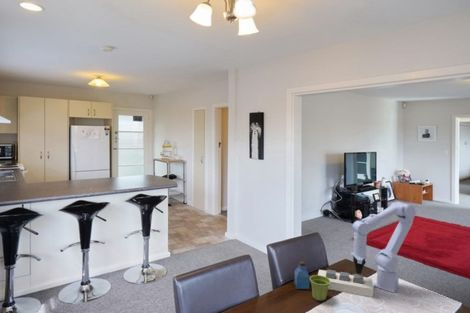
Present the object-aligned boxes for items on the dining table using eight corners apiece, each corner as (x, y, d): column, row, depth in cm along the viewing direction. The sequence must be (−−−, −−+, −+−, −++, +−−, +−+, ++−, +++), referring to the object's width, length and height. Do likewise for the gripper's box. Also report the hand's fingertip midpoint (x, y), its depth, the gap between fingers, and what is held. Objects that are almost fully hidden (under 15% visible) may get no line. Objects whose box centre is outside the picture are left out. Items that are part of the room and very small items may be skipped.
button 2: (362, 283, 153) (363, 275, 152) (363, 287, 149) (363, 279, 148) (353, 281, 154) (353, 273, 154) (353, 285, 150) (353, 277, 150)
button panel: (371, 286, 155) (371, 278, 155) (373, 297, 144) (373, 289, 143) (318, 276, 164) (319, 269, 164) (316, 286, 153) (316, 279, 153)
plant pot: (330, 294, 146) (330, 277, 145) (329, 304, 137) (330, 286, 136) (310, 291, 149) (310, 273, 148) (308, 300, 140) (308, 282, 139)
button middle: (349, 280, 155) (349, 273, 155) (348, 284, 151) (349, 276, 151) (339, 279, 157) (340, 271, 156) (339, 282, 152) (339, 275, 152)
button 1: (335, 278, 157) (335, 270, 157) (335, 282, 153) (335, 274, 153) (326, 276, 159) (327, 269, 159) (326, 280, 155) (326, 272, 155)
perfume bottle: (309, 289, 151) (310, 265, 150) (296, 288, 151) (297, 265, 150) (306, 283, 157) (307, 260, 156) (294, 282, 157) (295, 260, 156)
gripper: (351, 240, 158) (350, 265, 159) (351, 249, 145) (350, 277, 146) (365, 242, 156) (364, 267, 157) (367, 251, 142) (366, 279, 143)
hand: (358, 272), depth 151 cm, fingers closed
